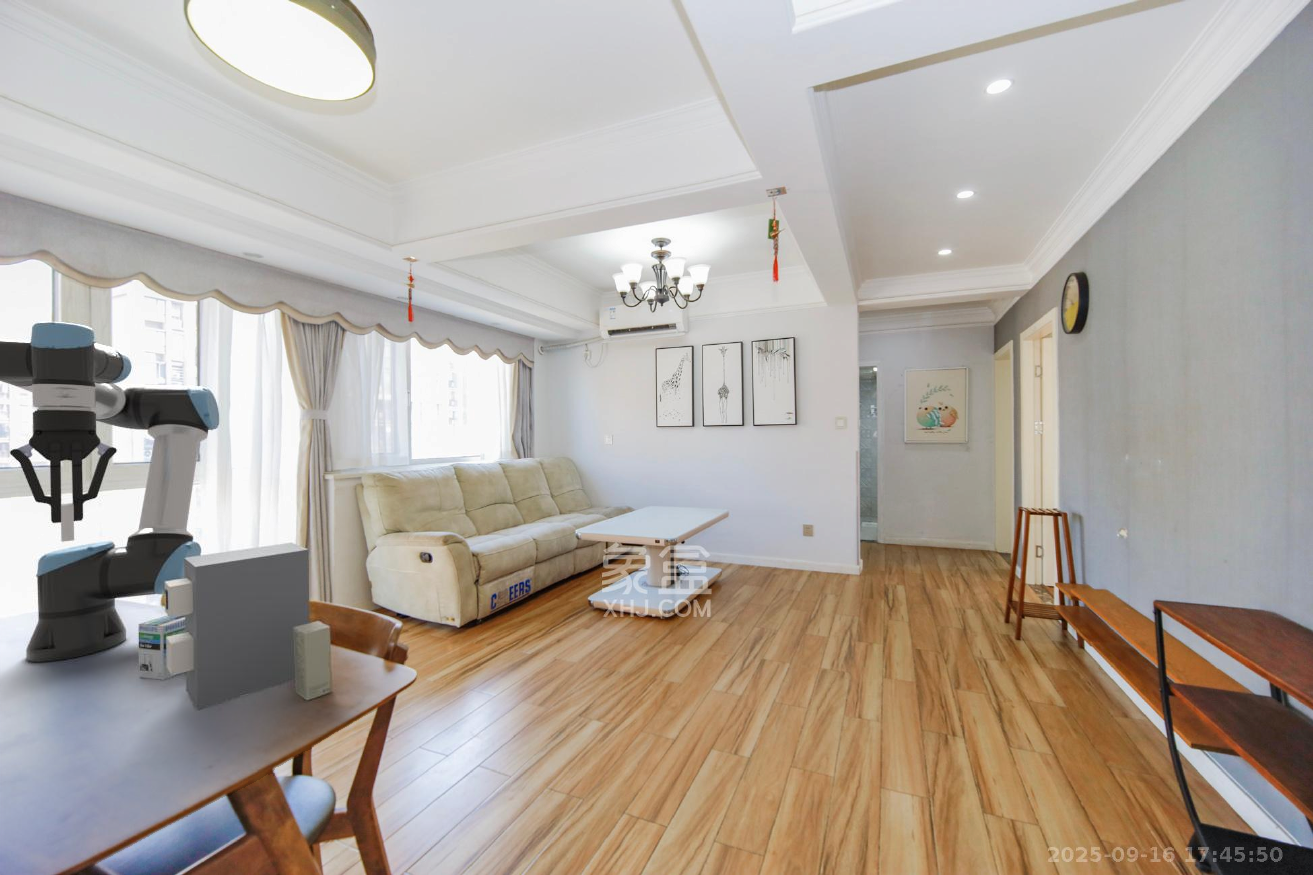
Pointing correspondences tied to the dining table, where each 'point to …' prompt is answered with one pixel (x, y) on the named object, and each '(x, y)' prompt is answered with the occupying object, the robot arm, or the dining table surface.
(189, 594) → the white protruding block
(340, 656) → the dining table surface
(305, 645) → the skincare box
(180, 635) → the plain button
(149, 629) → the light bulb box
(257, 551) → the grey upright slab
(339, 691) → the dining table surface
